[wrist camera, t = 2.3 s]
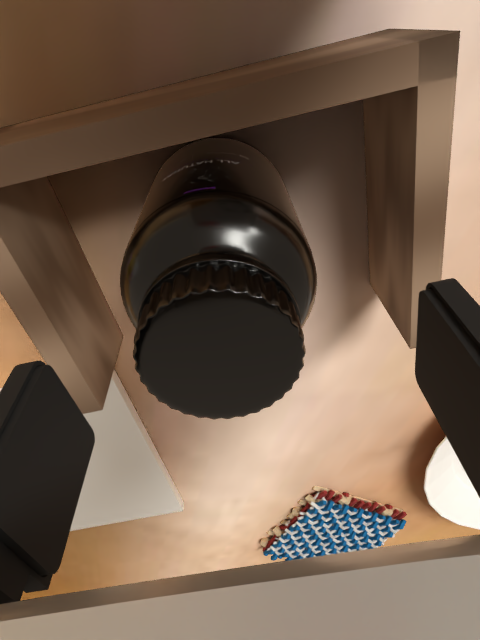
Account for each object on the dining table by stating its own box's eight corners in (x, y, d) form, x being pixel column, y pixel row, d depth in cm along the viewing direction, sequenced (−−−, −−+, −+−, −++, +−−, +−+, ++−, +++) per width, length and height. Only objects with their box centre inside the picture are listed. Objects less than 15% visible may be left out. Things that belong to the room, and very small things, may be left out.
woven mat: (408, 502, 39) (417, 524, 38) (341, 556, 44) (346, 577, 43) (315, 476, 36) (321, 498, 34) (255, 537, 41) (257, 559, 39)
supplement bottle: (210, 99, 19) (211, 184, 9) (312, 200, 21) (399, 350, 12) (121, 212, 21) (45, 374, 11) (223, 288, 24) (232, 470, 14)
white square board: (183, 502, 36) (183, 510, 35) (8, 533, 37) (4, 542, 36) (112, 365, 27) (109, 373, 26) (-118, 412, 28) (-126, 421, 27)
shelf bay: (390, 279, 24) (436, 343, 19) (104, 340, 26) (79, 414, 21) (389, 28, 17) (459, 30, 12) (-5, 129, 19) (-81, 166, 14)
